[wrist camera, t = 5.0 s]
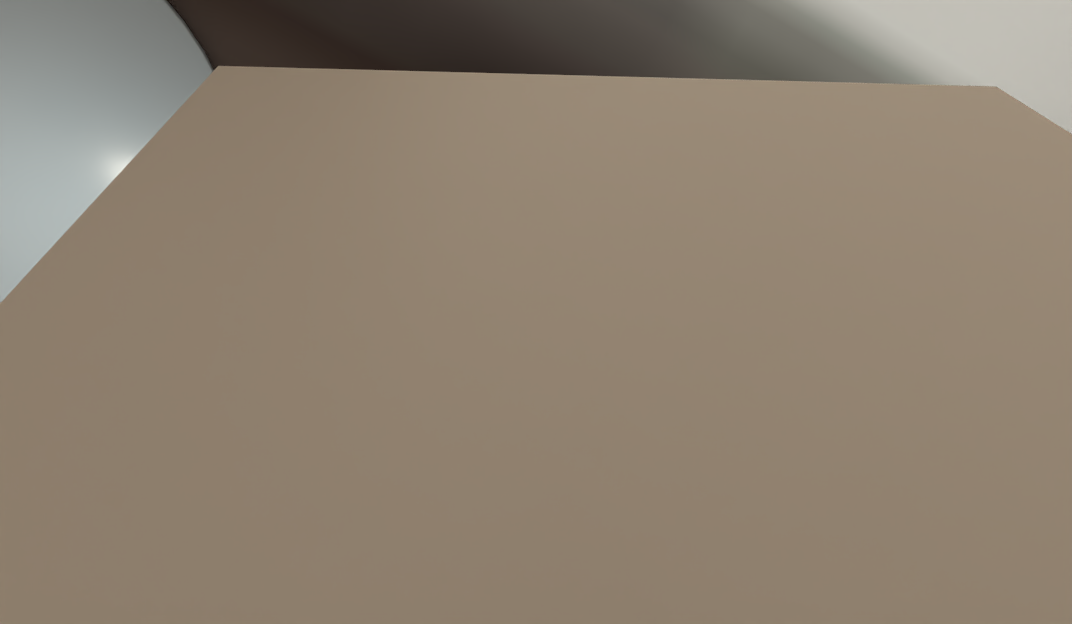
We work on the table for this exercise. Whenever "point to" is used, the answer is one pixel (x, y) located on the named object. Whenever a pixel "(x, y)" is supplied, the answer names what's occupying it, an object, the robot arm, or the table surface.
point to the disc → (80, 108)
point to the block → (551, 359)
